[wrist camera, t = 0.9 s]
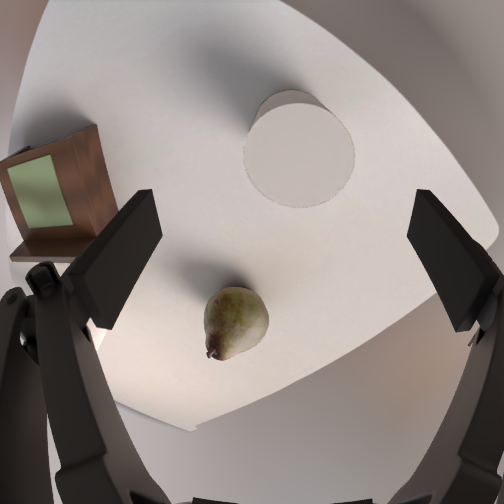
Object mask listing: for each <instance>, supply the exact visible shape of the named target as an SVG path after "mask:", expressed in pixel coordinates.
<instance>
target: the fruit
mask: <svg viewBox="0 0 504 504" xmlns="http://www.w3.org/2000/svg"><path fill="white" fill-rule="evenodd" d="M268 325H269V315H268V312H267V309H266V307H265V305H264V302H263V301H262V299H261V298H260V297H259V295H258V294H257V293H255V292H254V291H251V290H249V289H246V288H242V287H226V288H224V289H222V290H220V291H219V292H217V293H216V294H215V295H214V296H212V297H211V298H210V300H209V301H208V303H207V305H206V308H205V312H204V329H205V333H206V342H205V344H206V348H207V350H208V352H207V353H206V354H207V357H208V358H210V357H211V356H212V357H213V358H214V359H217V360H221V361H223V360H227V359H230V358H231V357H233V356H235V355H237V354H239V353H241V352H244V351H246V350H249V349H250V348H252V347H254V346H256V345H257V344H258V343H259V342H260V341H261V340H262V339H263V337H264V336H265V334H266V331H267V328H268Z"/></svg>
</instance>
